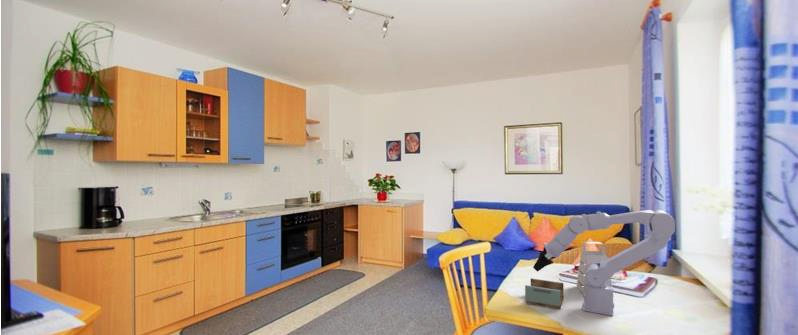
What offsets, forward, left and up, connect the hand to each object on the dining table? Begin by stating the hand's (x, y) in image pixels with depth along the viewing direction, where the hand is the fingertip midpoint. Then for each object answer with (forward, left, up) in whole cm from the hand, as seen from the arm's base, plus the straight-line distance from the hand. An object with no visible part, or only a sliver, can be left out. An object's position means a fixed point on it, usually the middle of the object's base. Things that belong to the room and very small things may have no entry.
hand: (536, 267), depth 140 cm
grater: (-19, -21, -13) cm, 31 cm away
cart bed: (-3, 0, -13) cm, 13 cm away
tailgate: (-3, +6, -11) cm, 13 cm away
